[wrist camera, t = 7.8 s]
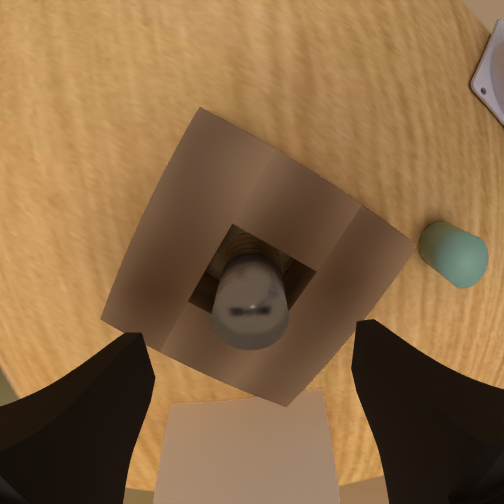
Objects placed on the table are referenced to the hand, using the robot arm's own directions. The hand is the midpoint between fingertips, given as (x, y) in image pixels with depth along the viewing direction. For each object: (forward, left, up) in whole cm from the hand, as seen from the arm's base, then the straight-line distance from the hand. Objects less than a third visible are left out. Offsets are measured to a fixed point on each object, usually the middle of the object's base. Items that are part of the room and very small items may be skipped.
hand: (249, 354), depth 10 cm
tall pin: (0, 0, -9) cm, 9 cm away
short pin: (-10, -7, -9) cm, 15 cm away
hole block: (0, 0, -9) cm, 9 cm away
